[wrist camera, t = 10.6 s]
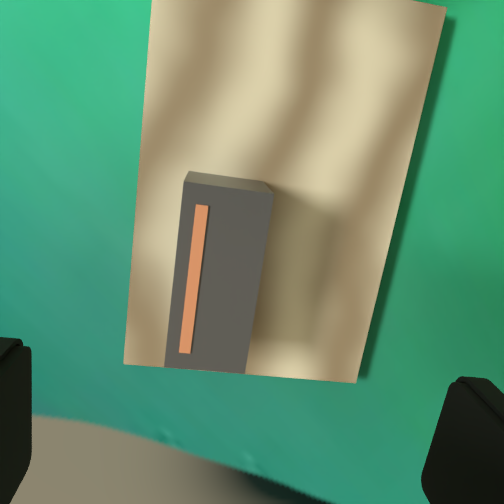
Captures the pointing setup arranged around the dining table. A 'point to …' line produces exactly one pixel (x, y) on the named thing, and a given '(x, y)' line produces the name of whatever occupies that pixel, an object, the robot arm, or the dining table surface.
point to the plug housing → (217, 272)
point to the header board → (283, 161)
